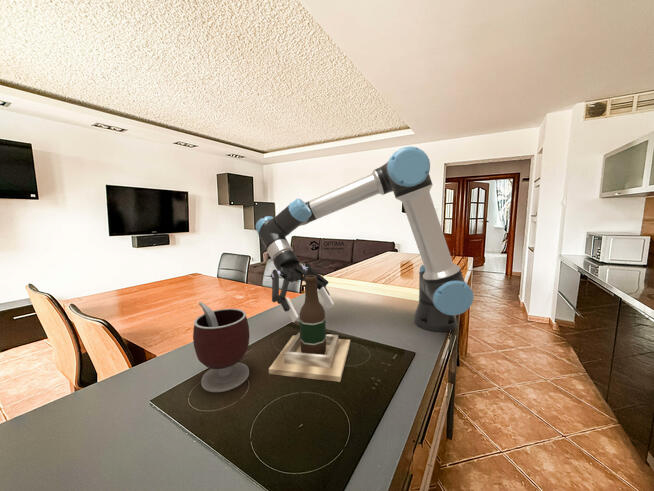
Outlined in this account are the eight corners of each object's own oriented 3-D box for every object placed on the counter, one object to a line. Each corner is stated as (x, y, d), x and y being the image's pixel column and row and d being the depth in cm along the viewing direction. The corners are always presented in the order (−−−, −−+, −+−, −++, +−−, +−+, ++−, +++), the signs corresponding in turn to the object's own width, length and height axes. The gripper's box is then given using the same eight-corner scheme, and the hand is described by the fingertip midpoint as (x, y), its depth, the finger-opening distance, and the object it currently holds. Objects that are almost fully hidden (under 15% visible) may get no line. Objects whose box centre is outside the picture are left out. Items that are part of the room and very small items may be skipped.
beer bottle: (312, 343, 87) (309, 271, 84) (331, 351, 82) (329, 274, 79) (295, 354, 81) (291, 276, 78) (314, 362, 76) (311, 280, 73)
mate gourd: (262, 370, 76) (258, 302, 73) (221, 401, 64) (214, 321, 61) (226, 356, 83) (220, 294, 81) (183, 381, 72) (175, 310, 69)
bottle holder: (350, 343, 89) (349, 331, 88) (340, 381, 70) (339, 365, 69) (293, 339, 93) (292, 327, 93) (269, 373, 74) (268, 358, 73)
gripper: (308, 258, 98) (338, 307, 89) (244, 270, 81) (273, 332, 72) (317, 244, 93) (349, 295, 84) (251, 254, 77) (283, 319, 68)
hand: (314, 312), depth 78 cm, fingers open, 13 cm apart
